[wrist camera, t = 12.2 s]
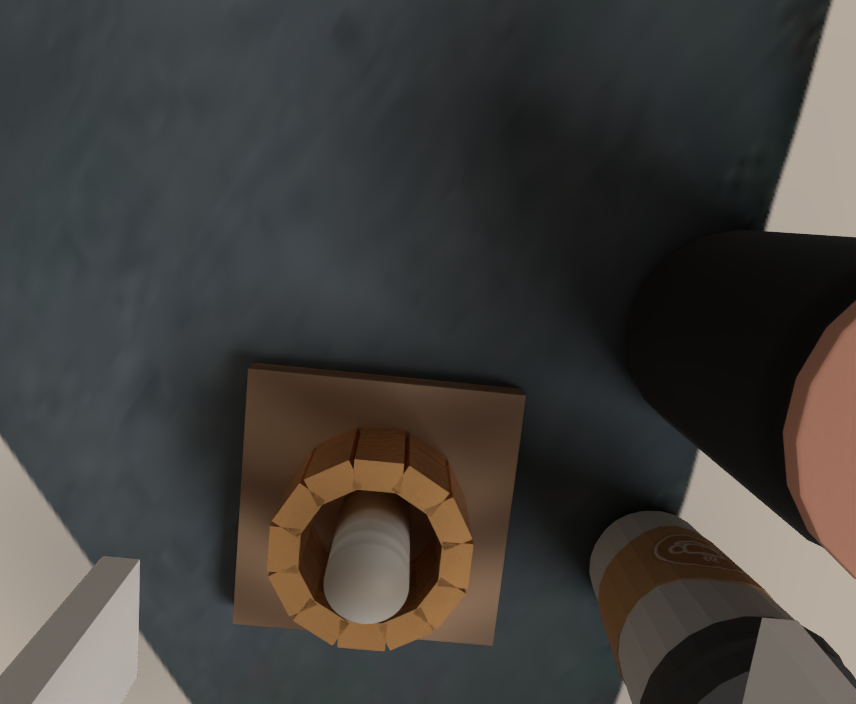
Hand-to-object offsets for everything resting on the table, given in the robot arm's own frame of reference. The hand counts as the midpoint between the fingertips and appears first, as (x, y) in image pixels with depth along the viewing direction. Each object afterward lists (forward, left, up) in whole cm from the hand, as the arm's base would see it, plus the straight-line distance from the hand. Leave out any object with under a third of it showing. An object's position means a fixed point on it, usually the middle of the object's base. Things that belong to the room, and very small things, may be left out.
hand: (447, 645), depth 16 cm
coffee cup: (+9, +13, -24) cm, 28 cm away
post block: (+7, -2, -24) cm, 25 cm away
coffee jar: (-4, +15, -24) cm, 29 cm away
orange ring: (+7, -2, -22) cm, 23 cm away
